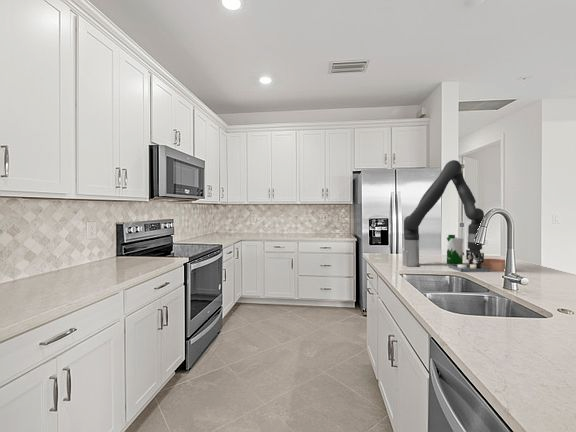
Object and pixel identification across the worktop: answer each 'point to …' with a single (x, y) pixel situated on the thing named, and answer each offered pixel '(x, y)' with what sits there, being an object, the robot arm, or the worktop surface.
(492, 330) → the worktop surface
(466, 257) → the robot arm
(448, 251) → the milk carton
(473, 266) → the sandstone pebble
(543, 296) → the worktop surface
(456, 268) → the tray
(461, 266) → the white pebble
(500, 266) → the bowl
